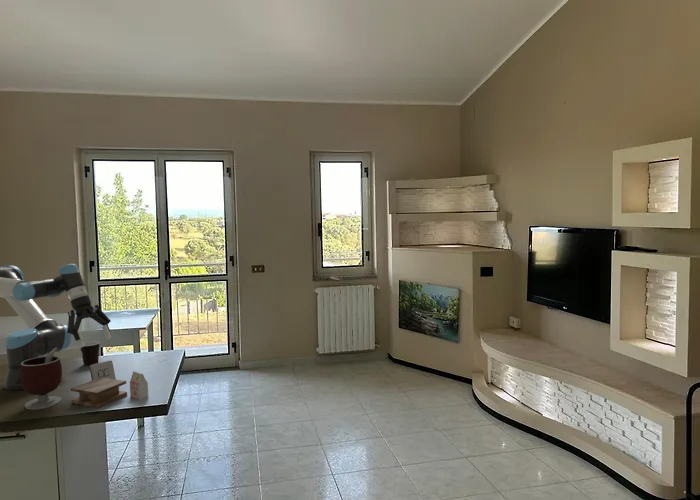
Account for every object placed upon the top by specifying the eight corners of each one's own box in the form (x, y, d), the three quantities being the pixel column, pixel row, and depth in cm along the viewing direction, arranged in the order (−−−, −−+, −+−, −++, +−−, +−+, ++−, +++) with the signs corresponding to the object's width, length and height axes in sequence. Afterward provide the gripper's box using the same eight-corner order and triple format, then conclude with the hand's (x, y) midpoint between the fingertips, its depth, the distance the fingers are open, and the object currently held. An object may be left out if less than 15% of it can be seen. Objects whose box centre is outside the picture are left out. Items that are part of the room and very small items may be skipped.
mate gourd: (45, 411, 191) (42, 358, 190) (13, 409, 193) (9, 357, 192) (74, 396, 206) (71, 347, 205) (44, 394, 209) (41, 346, 207)
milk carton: (139, 393, 207) (137, 369, 207) (148, 397, 203) (147, 372, 203) (130, 396, 204) (129, 372, 204) (139, 400, 200) (138, 375, 200)
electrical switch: (94, 387, 217) (92, 365, 217) (89, 386, 220) (87, 364, 220) (116, 381, 224) (114, 360, 224) (110, 380, 227) (108, 359, 227)
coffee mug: (85, 361, 255) (84, 342, 254) (103, 360, 256) (102, 341, 255) (75, 368, 244) (74, 348, 243) (94, 367, 245) (93, 347, 244)
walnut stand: (71, 403, 198) (70, 388, 198) (101, 391, 211) (101, 377, 211) (97, 408, 193) (96, 392, 192) (127, 395, 206) (126, 381, 205)
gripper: (58, 299, 211) (76, 347, 209) (108, 290, 234) (124, 333, 232) (47, 306, 214) (65, 353, 212) (97, 296, 237) (113, 339, 235)
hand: (96, 343), depth 222 cm, fingers open, 13 cm apart
